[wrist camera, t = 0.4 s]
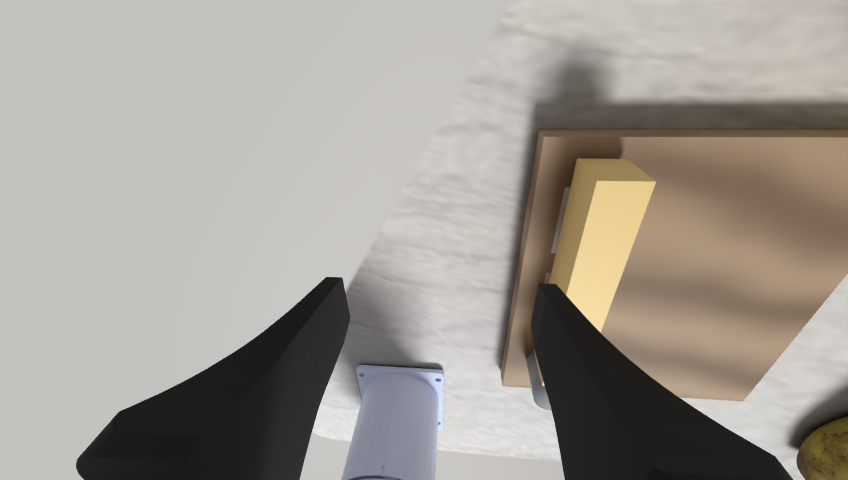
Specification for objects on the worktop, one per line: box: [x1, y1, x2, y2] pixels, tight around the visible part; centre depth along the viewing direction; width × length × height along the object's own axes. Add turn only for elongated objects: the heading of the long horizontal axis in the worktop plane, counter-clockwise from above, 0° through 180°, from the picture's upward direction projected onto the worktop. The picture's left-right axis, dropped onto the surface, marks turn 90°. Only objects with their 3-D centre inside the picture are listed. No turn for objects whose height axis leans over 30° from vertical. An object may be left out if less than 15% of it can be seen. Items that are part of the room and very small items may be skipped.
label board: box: [501, 129, 848, 401], centre depth 23 cm, size 21×19×2 cm
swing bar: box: [527, 158, 656, 410], centre depth 21 cm, size 18×3×3 cm, turn 1°
